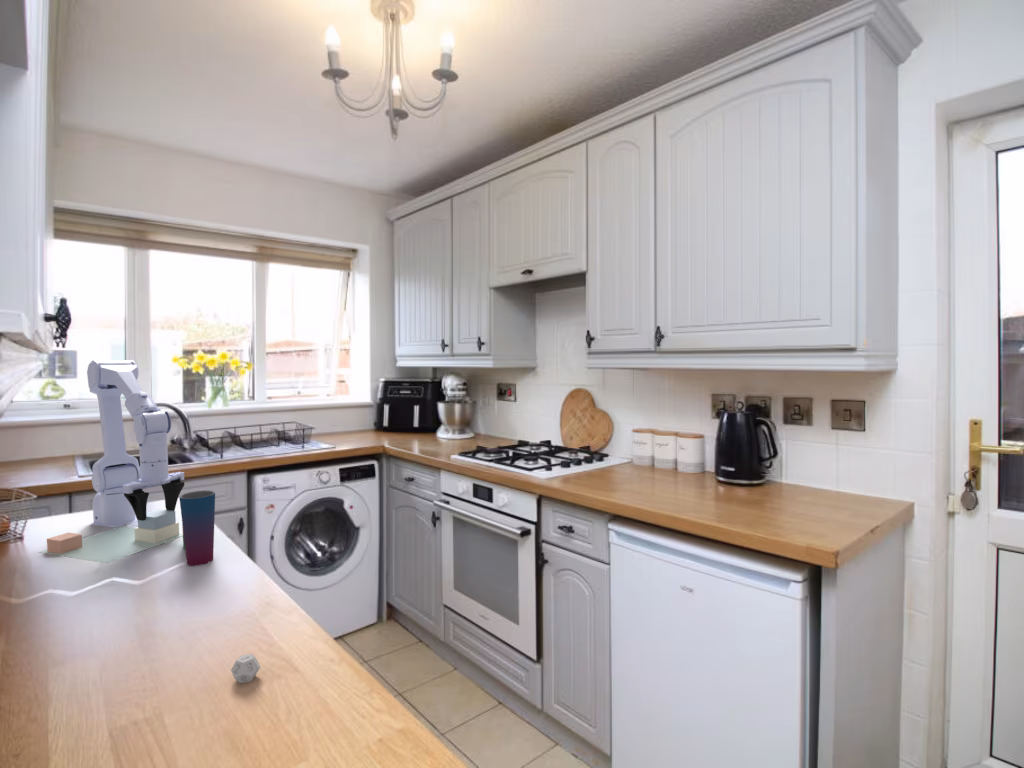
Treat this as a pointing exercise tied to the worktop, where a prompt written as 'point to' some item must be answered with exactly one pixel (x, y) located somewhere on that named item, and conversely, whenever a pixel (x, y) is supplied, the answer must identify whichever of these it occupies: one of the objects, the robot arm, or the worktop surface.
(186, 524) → the cup
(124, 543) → the baseplate
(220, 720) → the worktop surface
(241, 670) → the game die
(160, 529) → the brick
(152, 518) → the brick
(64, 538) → the brick
